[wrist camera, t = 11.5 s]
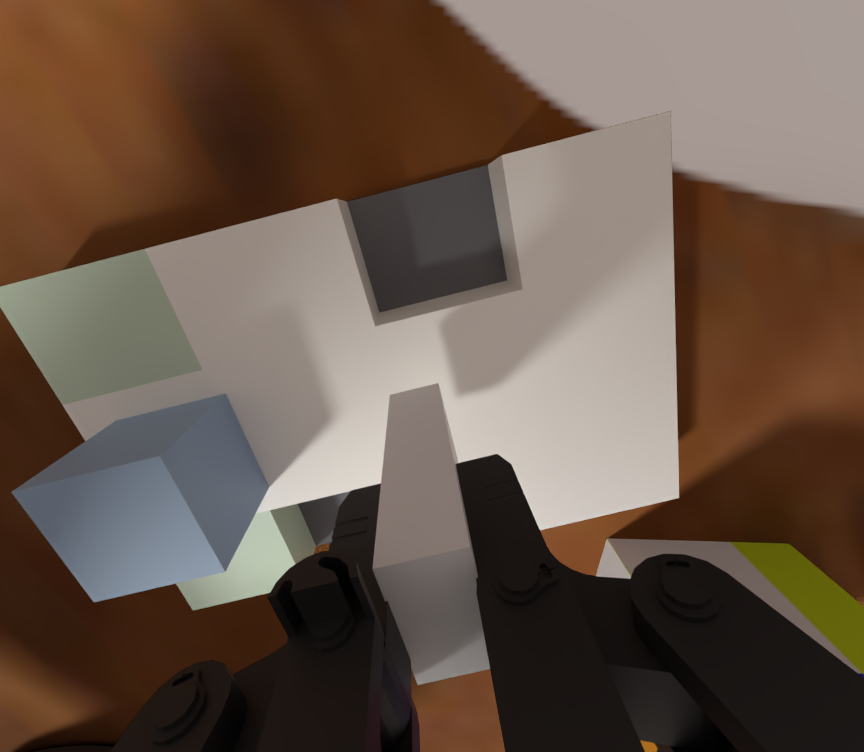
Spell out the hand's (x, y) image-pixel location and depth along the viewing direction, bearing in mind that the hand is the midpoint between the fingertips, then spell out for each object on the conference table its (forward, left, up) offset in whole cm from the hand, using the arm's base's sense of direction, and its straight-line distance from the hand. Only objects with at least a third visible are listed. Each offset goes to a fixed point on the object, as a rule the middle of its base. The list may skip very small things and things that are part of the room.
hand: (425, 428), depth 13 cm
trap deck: (-1, 0, -5) cm, 5 cm away
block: (-8, 0, -2) cm, 9 cm away
